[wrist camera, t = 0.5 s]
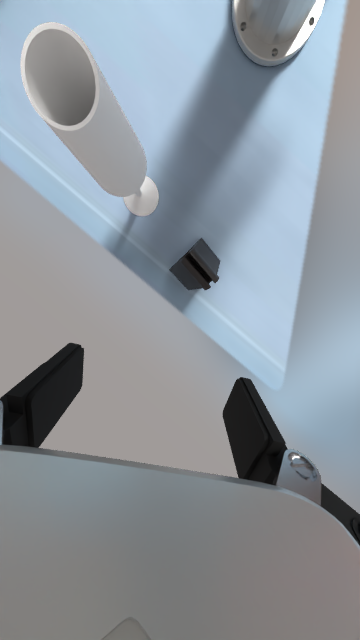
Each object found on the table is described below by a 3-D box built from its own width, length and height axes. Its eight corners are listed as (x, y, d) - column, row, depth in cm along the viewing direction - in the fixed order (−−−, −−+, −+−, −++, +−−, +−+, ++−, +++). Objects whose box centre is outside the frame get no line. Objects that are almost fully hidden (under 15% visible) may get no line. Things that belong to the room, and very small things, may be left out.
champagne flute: (122, 213, 34) (14, 141, 12) (123, 171, 32) (-10, -18, 10) (157, 219, 35) (115, 157, 12) (160, 177, 32) (116, 7, 10)
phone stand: (187, 289, 40) (191, 304, 28) (169, 269, 38) (164, 276, 27) (219, 261, 38) (237, 264, 26) (201, 237, 36) (211, 231, 25)
